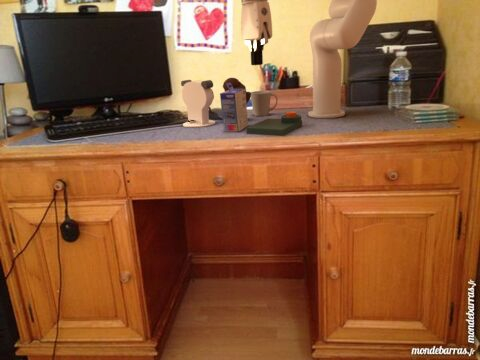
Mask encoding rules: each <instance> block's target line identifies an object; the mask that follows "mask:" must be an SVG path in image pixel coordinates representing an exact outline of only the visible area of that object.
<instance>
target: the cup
mask: <svg viewBox="0 0 480 360" xmlns="http://www.w3.org/2000/svg"><path fill="white" fill-rule="evenodd" d="M250 93H251V98H250V101H251V106H252V107H251V108H252V113H253V115H254V116H255V117H265V116H269V115H270V112H272V111H273V110H275V109H276V108H277V105H278V101H279V100H278V97H277V95H276V94H275V93H274V92H271V91H270V90H256V91H255V90H254V91H251V92H250ZM272 96H273V97H274V98H275V100H276V101H275V105H273V106H272V107H271V97H272Z"/></svg>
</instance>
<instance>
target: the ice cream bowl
mask: <svg viewBox="0 0 480 360" xmlns="http://www.w3.org/2000/svg"><path fill="white" fill-rule="evenodd" d="M226 83H231V84H232V86H233V88H234V89H245V92H246V104H247V105H248V103H249V102H250V101H251V92H250V91H247V88H246V86H245V85H244V84H243V83H242V82H241V81H240V80H239V79H238V78H237V77H228V78H227V79H225V80H224V81H223V84H222V88H223V90H224V92H225V91H227V90H229V89H228V87H227V85H226ZM230 87H231V85H229V88H230Z"/></svg>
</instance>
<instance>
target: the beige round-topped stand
mask: <svg viewBox="0 0 480 360" xmlns="http://www.w3.org/2000/svg"><path fill="white" fill-rule="evenodd" d="M180 85H181V87H182V89H181V97H182V101H183V103H184V104H185V106H186V111H187V121H186V122H184V123H182V127H185V128H203V127H209V126H213V125H215V124H216V121H215V120H211V119H210V113H211V112H212V108H211V105H212V104H213V101H214V98H215V94H214V91H213V89H212V88H213V87H214V81H213V80H212V79H207V80H191V79H185V80H181V82H180ZM188 120H189V121H190V122H188ZM191 120H194V121H191Z"/></svg>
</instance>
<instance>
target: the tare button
mask: <svg viewBox="0 0 480 360" xmlns="http://www.w3.org/2000/svg"><path fill="white" fill-rule="evenodd" d="M285 115H286V117H296V115H297V111H286V112H285Z"/></svg>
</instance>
